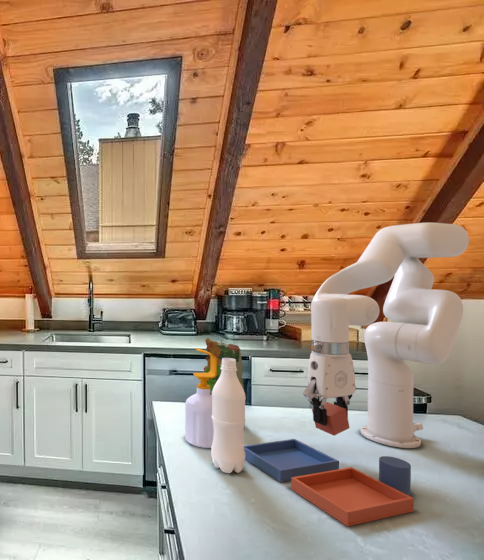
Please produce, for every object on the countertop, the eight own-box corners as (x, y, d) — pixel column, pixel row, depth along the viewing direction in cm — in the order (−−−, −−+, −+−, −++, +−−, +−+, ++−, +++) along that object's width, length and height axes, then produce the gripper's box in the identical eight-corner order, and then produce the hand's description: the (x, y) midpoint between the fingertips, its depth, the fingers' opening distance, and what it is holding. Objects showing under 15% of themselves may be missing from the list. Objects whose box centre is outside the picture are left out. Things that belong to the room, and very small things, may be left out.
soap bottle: (181, 433, 107) (182, 345, 107) (214, 434, 107) (215, 346, 106) (190, 448, 98) (191, 352, 98) (226, 449, 98) (227, 352, 97)
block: (330, 420, 97) (326, 401, 97) (349, 428, 92) (345, 408, 92) (315, 427, 96) (311, 408, 95) (334, 435, 91) (330, 416, 90)
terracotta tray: (351, 478, 84) (351, 466, 84) (414, 511, 72) (414, 498, 72) (291, 489, 79) (291, 477, 79) (347, 526, 68) (347, 512, 68)
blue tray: (294, 448, 98) (294, 438, 98) (339, 471, 86) (339, 460, 86) (240, 456, 94) (241, 446, 94) (280, 482, 82) (280, 470, 82)
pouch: (244, 434, 107) (244, 344, 107) (199, 426, 112) (200, 341, 112) (245, 420, 117) (245, 338, 117) (204, 414, 122) (204, 335, 122)
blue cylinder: (390, 482, 82) (390, 454, 82) (416, 495, 77) (417, 466, 77) (372, 486, 81) (373, 457, 81) (398, 499, 76) (399, 469, 76)
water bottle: (248, 477, 84) (249, 363, 83) (213, 474, 85) (214, 361, 85) (241, 462, 91) (242, 356, 90) (209, 459, 92) (210, 355, 92)
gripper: (315, 353, 87) (316, 432, 88) (372, 347, 92) (372, 422, 92) (288, 347, 94) (289, 420, 95) (342, 342, 99) (343, 411, 100)
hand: (330, 420), depth 94 cm, fingers closed on block, 5 cm apart
